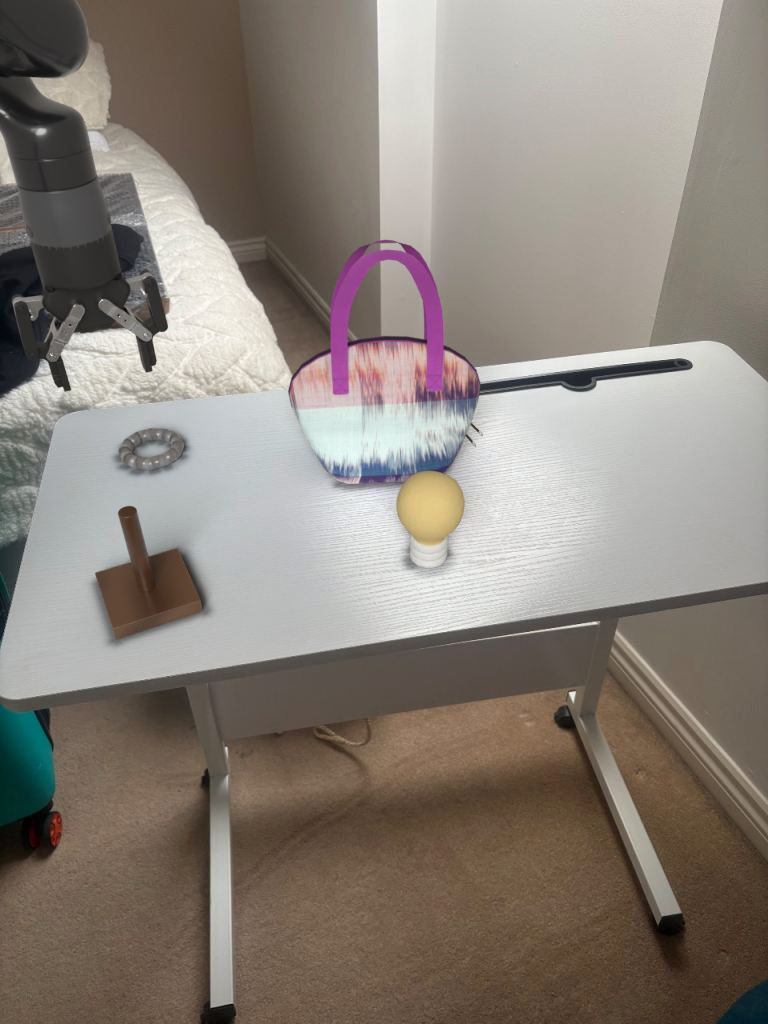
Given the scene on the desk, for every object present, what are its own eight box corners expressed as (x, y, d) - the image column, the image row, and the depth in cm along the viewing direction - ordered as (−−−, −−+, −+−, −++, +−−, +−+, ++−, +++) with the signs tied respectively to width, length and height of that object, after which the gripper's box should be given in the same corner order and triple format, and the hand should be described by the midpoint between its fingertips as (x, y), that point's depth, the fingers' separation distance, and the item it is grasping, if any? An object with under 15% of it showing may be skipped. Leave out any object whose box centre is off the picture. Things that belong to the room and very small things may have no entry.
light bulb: (387, 574, 80) (387, 493, 74) (405, 532, 85) (407, 453, 79) (452, 587, 79) (457, 506, 72) (466, 544, 84) (473, 464, 77)
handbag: (474, 430, 99) (490, 223, 83) (487, 480, 92) (508, 263, 76) (295, 437, 98) (277, 229, 82) (293, 488, 91) (273, 270, 75)
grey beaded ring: (128, 478, 92) (126, 468, 91) (114, 445, 97) (112, 435, 96) (191, 461, 95) (189, 451, 94) (175, 430, 100) (173, 420, 99)
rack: (116, 640, 74) (88, 553, 67) (98, 583, 79) (71, 498, 73) (203, 611, 77) (185, 525, 70) (179, 558, 82) (161, 473, 75)
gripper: (135, 203, 83) (164, 348, 93) (-15, 227, 78) (32, 377, 89) (154, 228, 78) (182, 379, 88) (-6, 256, 73) (43, 412, 83)
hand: (107, 378), depth 88 cm, fingers open, 8 cm apart
